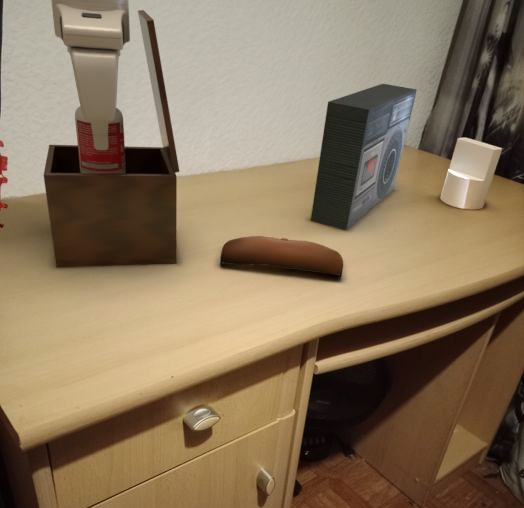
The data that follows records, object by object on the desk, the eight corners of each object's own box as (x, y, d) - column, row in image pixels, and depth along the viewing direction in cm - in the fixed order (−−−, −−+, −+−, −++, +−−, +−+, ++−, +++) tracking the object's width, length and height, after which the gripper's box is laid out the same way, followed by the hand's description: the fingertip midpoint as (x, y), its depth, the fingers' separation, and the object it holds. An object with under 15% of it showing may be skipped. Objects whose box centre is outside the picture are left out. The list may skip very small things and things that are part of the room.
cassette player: (346, 230, 96) (369, 109, 84) (310, 220, 98) (328, 101, 87) (393, 189, 118) (416, 89, 106) (363, 182, 120) (382, 83, 109)
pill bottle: (131, 181, 75) (128, 94, 69) (86, 184, 73) (78, 94, 66) (118, 167, 80) (113, 85, 73) (75, 169, 77) (67, 84, 71)
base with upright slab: (431, 197, 115) (447, 139, 109) (456, 192, 120) (473, 136, 114) (467, 212, 110) (486, 151, 103) (491, 205, 115) (511, 147, 108)
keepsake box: (56, 267, 75) (43, 174, 68) (59, 228, 86) (49, 144, 78) (176, 263, 79) (176, 176, 72) (165, 226, 90) (165, 147, 83)
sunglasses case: (339, 254, 86) (346, 228, 80) (337, 292, 83) (344, 268, 77) (226, 241, 86) (225, 214, 80) (220, 279, 83) (218, 254, 77)
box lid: (146, 20, 61) (153, 19, 61) (137, 10, 72) (143, 9, 72) (173, 173, 72) (179, 172, 72) (162, 144, 82) (167, 143, 82)
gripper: (66, 12, 73) (77, 121, 81) (61, 29, 57) (75, 162, 65) (115, 16, 74) (120, 123, 82) (123, 34, 59) (129, 163, 66)
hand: (100, 140), depth 73 cm, fingers closed on pill bottle, 6 cm apart
